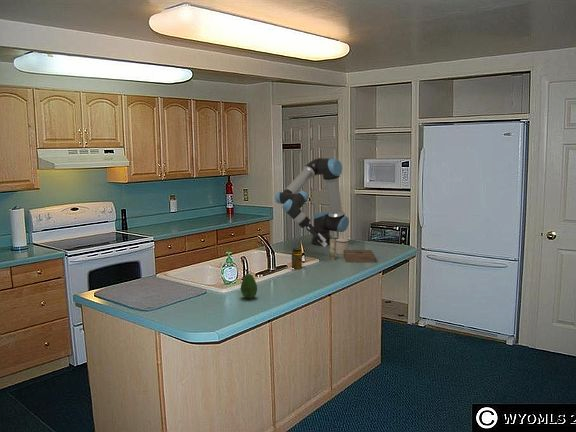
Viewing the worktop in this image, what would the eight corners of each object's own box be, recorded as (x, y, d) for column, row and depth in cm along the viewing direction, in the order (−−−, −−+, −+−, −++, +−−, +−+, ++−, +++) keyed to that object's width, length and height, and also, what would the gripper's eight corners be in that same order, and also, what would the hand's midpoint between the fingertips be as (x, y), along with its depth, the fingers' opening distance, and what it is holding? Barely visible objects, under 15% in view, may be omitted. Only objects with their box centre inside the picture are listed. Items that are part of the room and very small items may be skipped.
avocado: (248, 294, 255) (248, 271, 253) (260, 297, 250) (260, 273, 248) (237, 298, 249) (237, 274, 247) (249, 301, 244) (248, 277, 242)
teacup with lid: (351, 253, 350) (351, 236, 348) (343, 255, 343) (344, 238, 341) (336, 250, 358) (337, 233, 356) (329, 252, 351) (329, 235, 349)
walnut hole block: (343, 256, 339) (343, 249, 339) (370, 256, 339) (371, 249, 339) (346, 262, 324) (346, 255, 323) (374, 262, 323) (374, 255, 323)
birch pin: (329, 258, 333) (329, 238, 331) (334, 258, 333) (335, 238, 331) (329, 259, 330) (330, 239, 328) (335, 259, 330) (335, 239, 328)
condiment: (304, 269, 306) (304, 249, 304) (292, 270, 302) (293, 250, 300) (297, 266, 312) (297, 247, 310) (286, 268, 308) (286, 248, 306)
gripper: (297, 220, 340) (320, 243, 342) (298, 227, 315) (322, 251, 317) (306, 213, 339) (328, 235, 341) (306, 218, 314) (330, 243, 316)
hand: (325, 243), depth 329 cm, fingers open, 13 cm apart
